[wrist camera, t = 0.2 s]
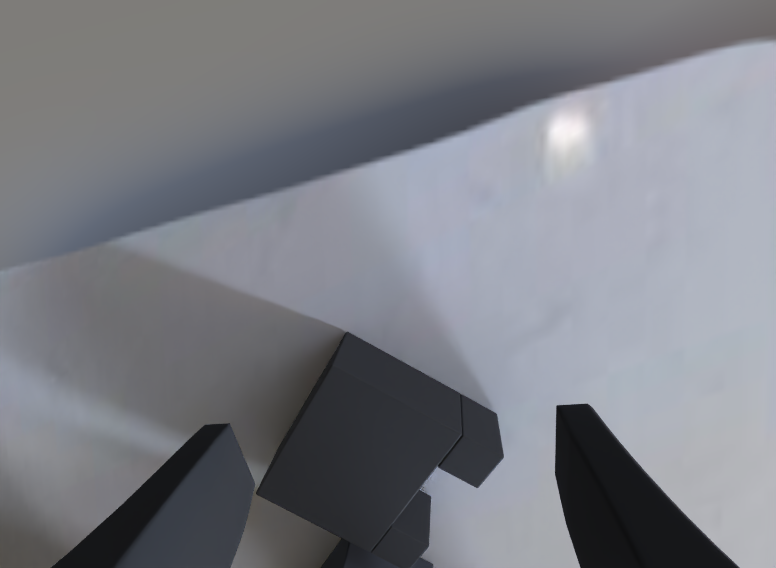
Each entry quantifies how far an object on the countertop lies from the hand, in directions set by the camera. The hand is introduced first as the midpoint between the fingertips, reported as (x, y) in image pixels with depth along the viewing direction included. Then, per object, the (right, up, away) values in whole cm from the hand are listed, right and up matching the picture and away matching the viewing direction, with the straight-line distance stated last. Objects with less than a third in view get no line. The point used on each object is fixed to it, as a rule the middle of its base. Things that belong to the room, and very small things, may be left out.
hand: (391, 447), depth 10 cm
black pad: (0, -4, +13) cm, 13 cm away
